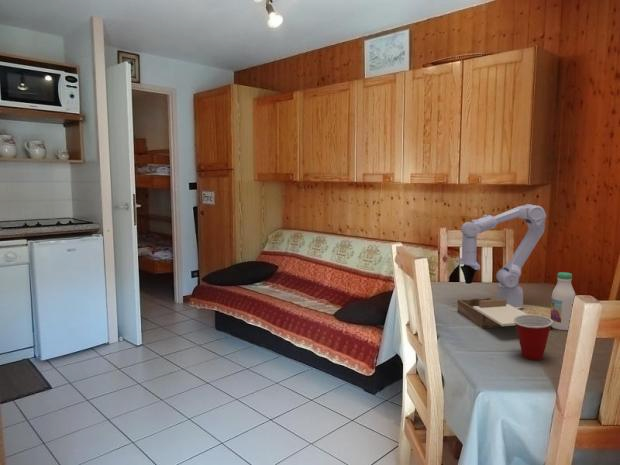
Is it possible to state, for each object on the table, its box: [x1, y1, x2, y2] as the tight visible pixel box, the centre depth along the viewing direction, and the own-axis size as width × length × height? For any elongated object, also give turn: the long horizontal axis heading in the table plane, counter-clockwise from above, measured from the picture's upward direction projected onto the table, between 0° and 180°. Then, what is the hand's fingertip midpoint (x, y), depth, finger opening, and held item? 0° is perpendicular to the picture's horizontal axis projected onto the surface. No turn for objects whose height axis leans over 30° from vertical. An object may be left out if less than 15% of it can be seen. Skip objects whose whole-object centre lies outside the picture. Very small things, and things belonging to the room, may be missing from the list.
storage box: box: [457, 297, 517, 329], centre depth 174 cm, size 14×20×5 cm
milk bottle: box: [550, 271, 576, 331], centre depth 160 cm, size 8×8×20 cm
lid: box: [473, 298, 529, 327], centre depth 160 cm, size 14×20×3 cm
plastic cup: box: [514, 313, 553, 361], centre depth 137 cm, size 11×11×12 cm
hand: (468, 283), depth 187 cm, fingers closed
